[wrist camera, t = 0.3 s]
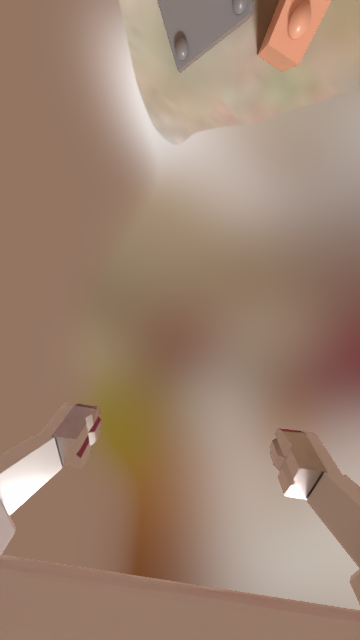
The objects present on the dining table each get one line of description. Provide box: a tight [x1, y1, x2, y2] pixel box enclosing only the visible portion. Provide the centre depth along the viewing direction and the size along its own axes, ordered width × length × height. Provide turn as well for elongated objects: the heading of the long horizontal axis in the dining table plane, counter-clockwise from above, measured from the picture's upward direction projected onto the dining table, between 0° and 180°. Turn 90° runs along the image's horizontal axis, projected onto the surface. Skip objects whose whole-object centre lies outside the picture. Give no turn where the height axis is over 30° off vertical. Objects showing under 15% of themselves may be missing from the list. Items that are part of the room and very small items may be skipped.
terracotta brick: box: [257, 0, 331, 72], centre depth 27 cm, size 5×5×11 cm
